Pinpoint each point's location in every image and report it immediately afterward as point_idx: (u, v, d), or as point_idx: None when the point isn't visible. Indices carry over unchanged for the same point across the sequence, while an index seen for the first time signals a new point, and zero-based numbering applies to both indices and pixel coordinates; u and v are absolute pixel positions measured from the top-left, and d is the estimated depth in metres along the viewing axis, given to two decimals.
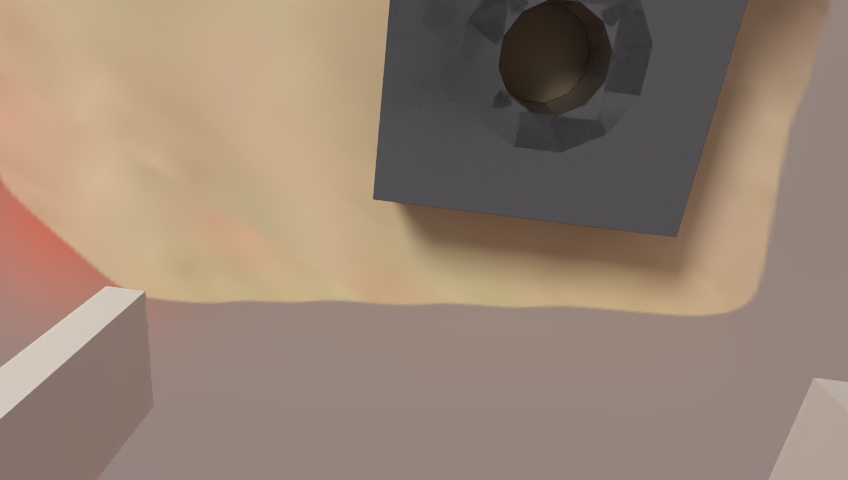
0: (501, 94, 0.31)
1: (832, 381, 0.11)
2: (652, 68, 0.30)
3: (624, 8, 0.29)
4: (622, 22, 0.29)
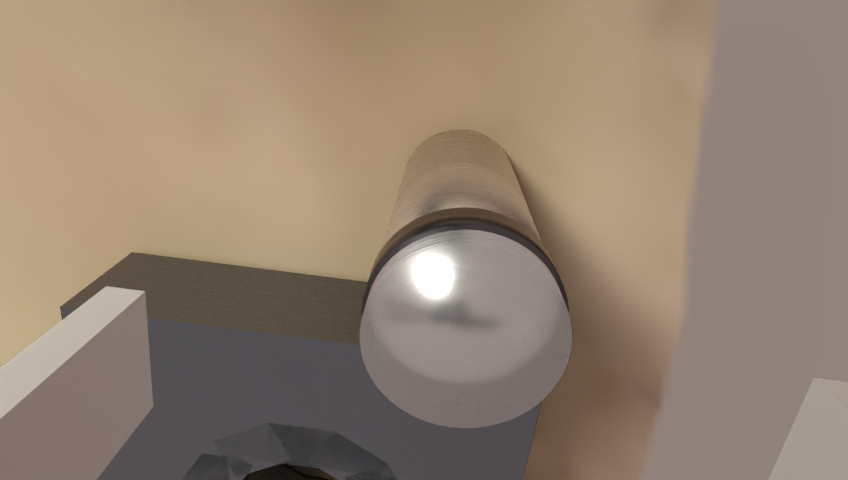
0: None
1: (832, 382, 0.11)
2: None
3: (373, 476, 0.23)
4: None
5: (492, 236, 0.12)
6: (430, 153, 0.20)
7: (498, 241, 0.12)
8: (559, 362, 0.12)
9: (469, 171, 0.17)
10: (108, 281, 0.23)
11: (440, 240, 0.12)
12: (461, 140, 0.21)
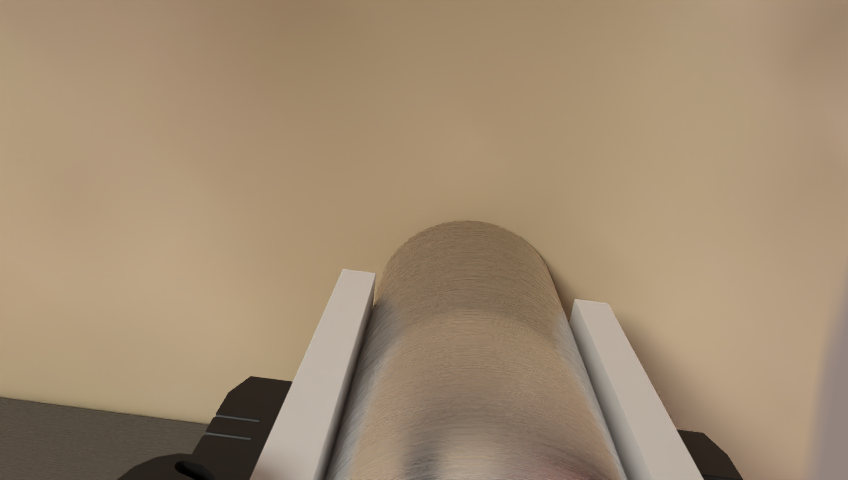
0: None
1: (589, 302, 0.13)
2: None
3: None
4: None
5: None
6: (417, 282, 0.11)
7: None
8: None
9: (491, 367, 0.08)
10: None
11: None
12: (471, 252, 0.12)
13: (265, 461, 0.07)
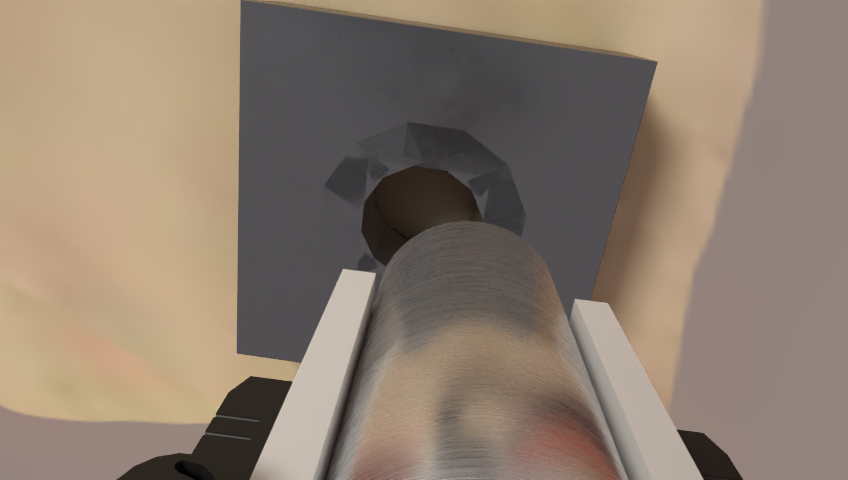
0: (366, 257, 0.28)
1: (589, 302, 0.13)
2: (527, 237, 0.28)
3: (493, 178, 0.27)
4: (492, 192, 0.27)
5: None
6: (417, 282, 0.11)
7: None
8: None
9: (492, 367, 0.08)
10: None
11: None
12: (472, 253, 0.12)
13: (265, 461, 0.07)
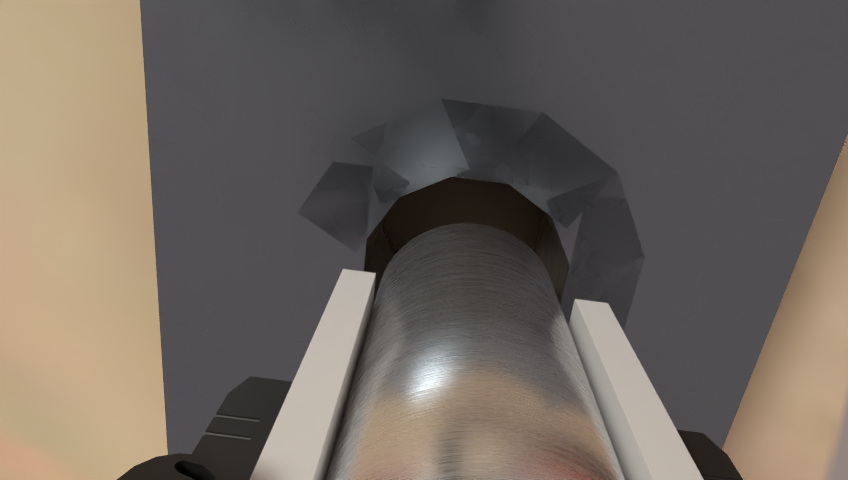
0: None
1: (589, 301, 0.13)
2: (644, 294, 0.16)
3: (590, 196, 0.15)
4: (588, 219, 0.15)
5: None
6: (416, 285, 0.11)
7: None
8: None
9: (490, 371, 0.08)
10: None
11: None
12: (470, 255, 0.12)
13: (265, 461, 0.07)
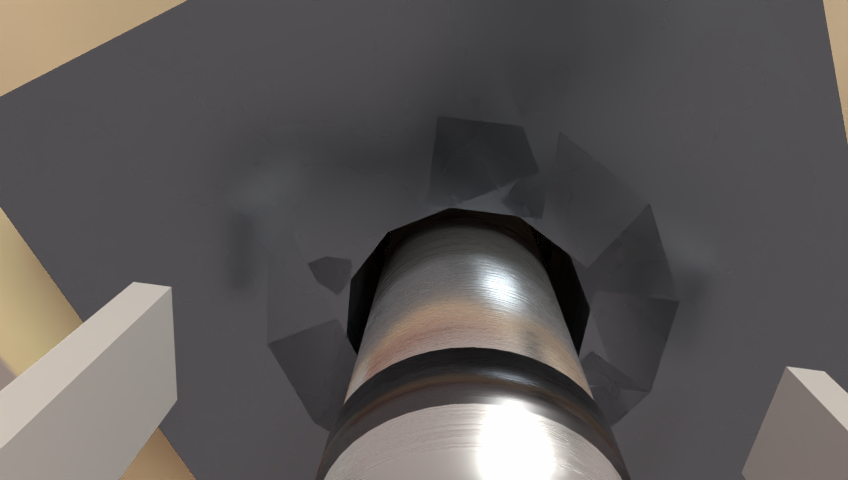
0: (343, 266, 0.13)
1: (804, 370, 0.11)
2: None
3: (615, 384, 0.14)
4: None
5: (520, 419, 0.07)
6: None
7: (531, 433, 0.07)
8: None
9: (477, 258, 0.12)
10: None
11: (432, 428, 0.07)
12: None
13: None
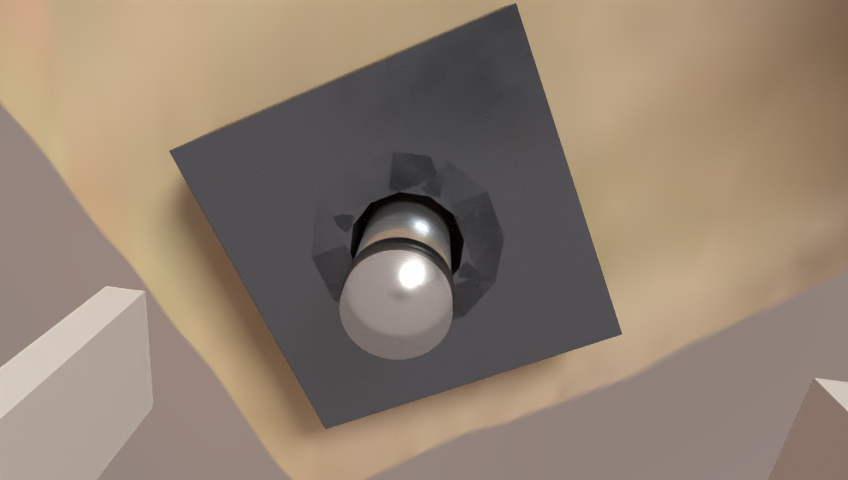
0: (349, 218, 0.29)
1: (832, 381, 0.11)
2: None
3: (478, 278, 0.30)
4: (467, 283, 0.30)
5: (411, 253, 0.23)
6: (388, 198, 0.31)
7: (413, 256, 0.23)
8: (446, 321, 0.23)
9: (409, 213, 0.27)
10: None
11: (383, 255, 0.23)
12: None
13: None
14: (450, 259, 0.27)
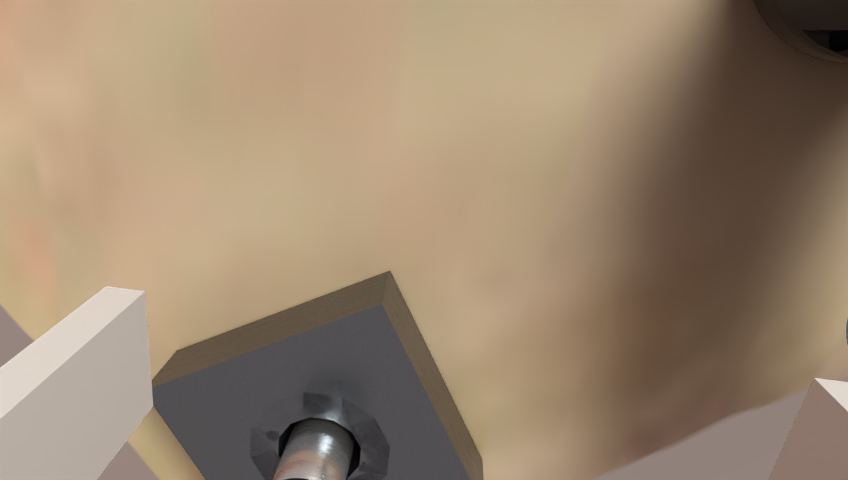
0: (276, 433, 0.39)
1: (831, 381, 0.11)
2: None
3: (374, 472, 0.40)
4: (366, 475, 0.40)
5: None
6: None
7: None
8: None
9: (315, 438, 0.38)
10: (388, 294, 0.37)
11: None
12: None
13: None
14: (344, 474, 0.37)
